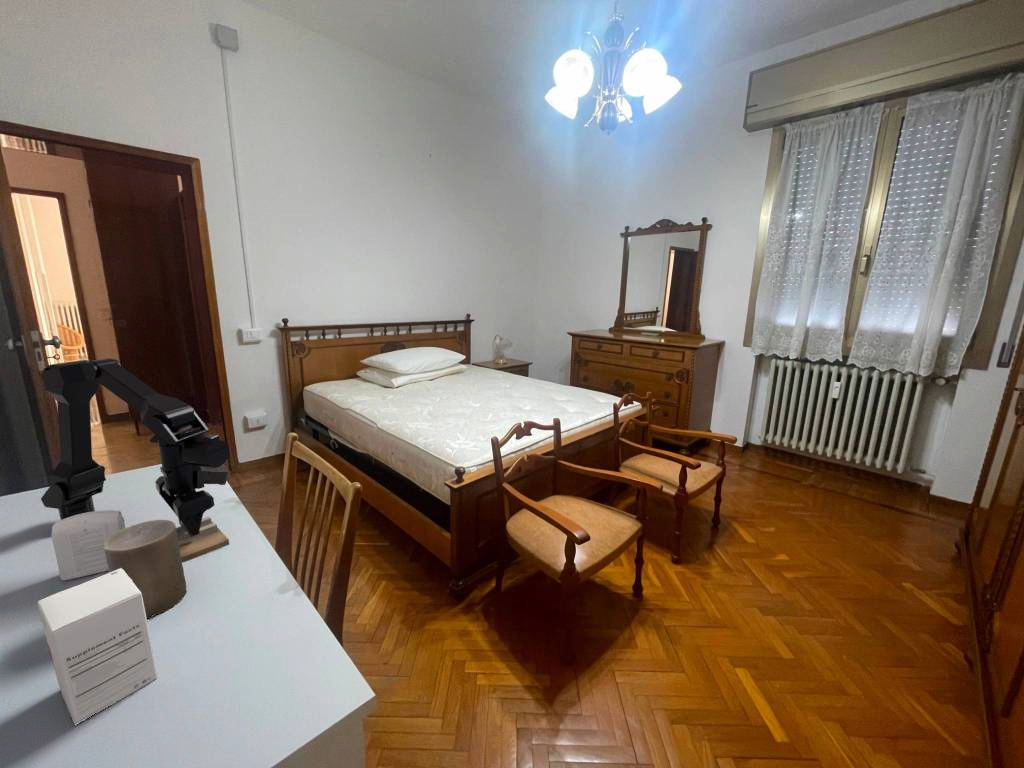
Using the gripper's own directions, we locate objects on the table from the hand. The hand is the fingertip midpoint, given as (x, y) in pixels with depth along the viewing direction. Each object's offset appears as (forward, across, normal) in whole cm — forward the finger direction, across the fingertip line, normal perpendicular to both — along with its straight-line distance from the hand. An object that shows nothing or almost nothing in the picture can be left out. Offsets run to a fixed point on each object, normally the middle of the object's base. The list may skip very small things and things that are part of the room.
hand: (189, 526), depth 93 cm
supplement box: (+4, -33, +18) cm, 38 cm away
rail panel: (+3, -1, +1) cm, 4 cm away
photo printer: (+4, +2, +15) cm, 16 cm away
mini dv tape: (+1, 0, 0) cm, 1 cm away
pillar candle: (+4, -17, +10) cm, 20 cm away
